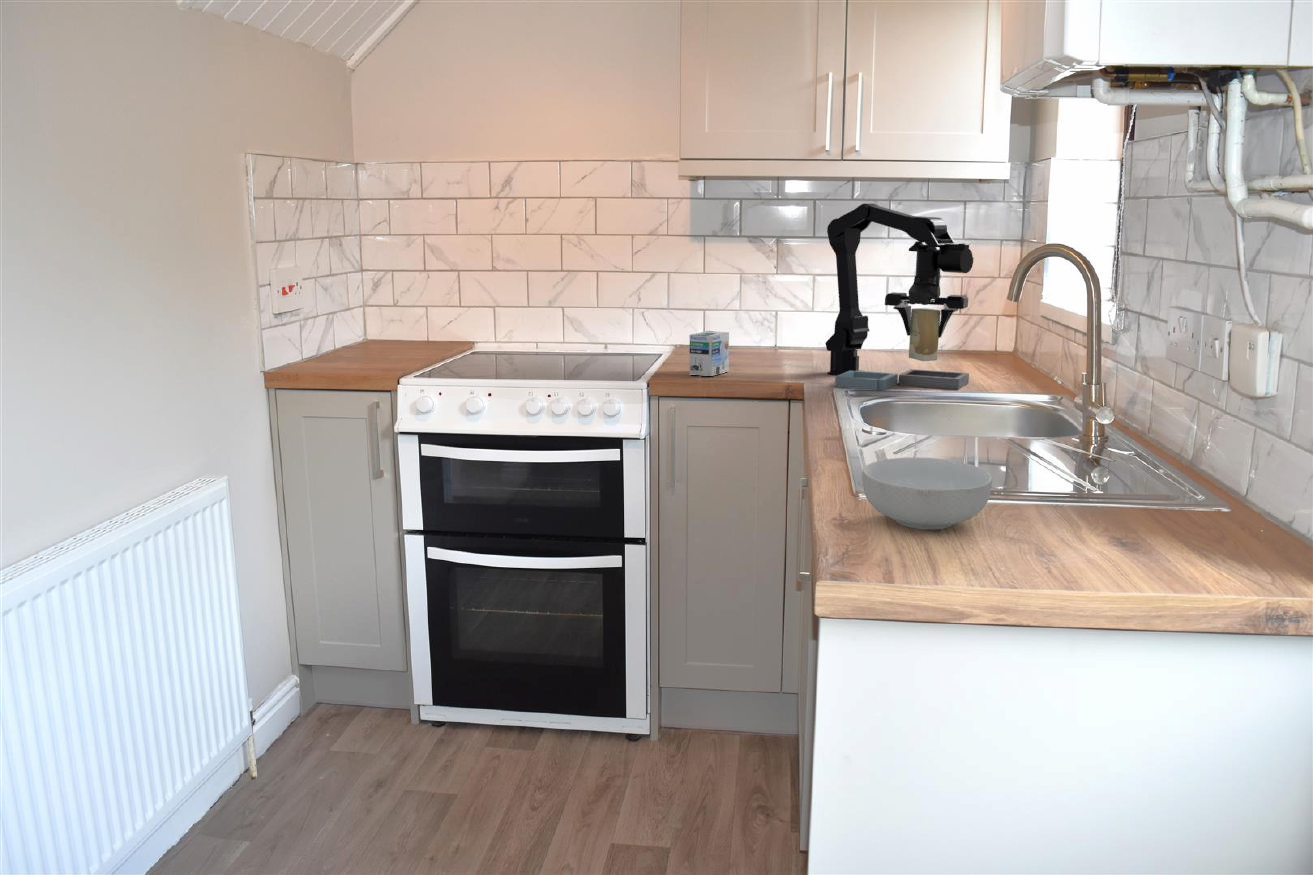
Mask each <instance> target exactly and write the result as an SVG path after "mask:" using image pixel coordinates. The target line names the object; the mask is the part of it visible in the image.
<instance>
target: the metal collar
mask: <svg viewBox="0 0 1313 875" xmlns="http://www.w3.org/2000/svg"><path fill="white" fill-rule="evenodd" d="M969 381H970V373H969V372H956V371H944V370H943V371H941V370H929V369H916V368H915V369H912V368H910V369H909V370H906V371H904V372H901V373H900V374H898V383H897V385H898V386H904V385H905V386H907V387H918V388H919V387H920V388H921V387H922V388H932V389H934V388H935V389H943V390H944V389H947V390H958V391H959V390H960V389H962V388H963V387H965V386H966V385H968V384H969Z"/></svg>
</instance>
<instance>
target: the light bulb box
mask: <svg viewBox="0 0 1313 875" xmlns="http://www.w3.org/2000/svg"><path fill="white" fill-rule="evenodd" d="M729 352H730V333H729V332H727V331H715V330H714V331H713V330H704V331H701V332H698V333H692V334H689V375H690V374H696V375H704V376H713V375H716V374H719V373H725V372H727V371H730V370H729V367H730V366H729V364H730V363H729V360H730V356H729V355H730V354H729ZM725 374H726V373H725Z"/></svg>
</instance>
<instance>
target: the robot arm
mask: <svg viewBox="0 0 1313 875" xmlns="http://www.w3.org/2000/svg"><path fill="white" fill-rule="evenodd" d="M871 223H875V224H879V225H882V226H885V227H889V228H892V229H896V230H899V231H902V232H904V233H905V234H907V235H908V236H909V237H910V238H912V239H914V240H916V241H915V242H914V244H913V245H912V246H910V247H909V248H908V251H909V252H916V261H915V275H914V279H913V282H912V285H911V287H910V288H909V290H908V294H907V292H894V291H893V292H889V293H887V294H886V295H885V298H884V306H890V307H891V306H893V307H892V308H893V310H897V311H898V313H899V314H900V317H901V319H902V321H903V325H904V329H905V333H906V336H909V337H910V327H911V311H912V305H913V306H914V305H921V306H928V305H933V306H943V308H941V310H940V326H939V339H940V338H942V335H943V333H944V331H945V329H946V327H947V324H948V322H949V320H950V319H951V317H952V315H953V313H956V312H957V311H959V310H964V309H966V308H969V297H967V295H965V294H964V295H962V294H961V295H960V294H951V295H948V296H946V297H941V285H940V284H941V283H940V281H941V271H942V272H943V273H953V274H969V272H970V271H971V270H972V267H973V264H974V257H973V253H972V250H971V249H970V243H956V242H955V240H954V239H953V237H952V236H951V234H950V232H949V230H948V227H947V226H948V225H947V223H946V221H945V219H943V218H942V217H936V216H919V215H918V216H917V215H911V214H909V213H905V212H901V211H898V210H894V209H891V208H887V207H884V206H880V205H878V204H876V203H862V204H859V206H857V207H855V209H853V210H850V211H849V212H847V213H845V214H842V215H841V216H840V217H838V218H834V219H832V220H831V221H830V222H829V224H828V225H827V228H826V230H827V231H826V233H827V237H828V242H829V245H830V247H831V249H832V250H833V252H834V255H835V259H836V276H837V290H838V291H837V292H838V293H837V294H838V307H839V312H838V314H837V317H836V319H835V320H834V321H835V322H834V331H833V332H834V333H833V334H832V335H831V336H830V337H829V338H828V339H827V340H826V341H825V347H826V348H825V349H826V351H828V352H830V358H829V359H830V362H829V366H830V367H829V371H828V372H827V374H828V375H835V376H837V375H840V374H842V373H845V372H847V371H860V356H859V355H858V350H861V349H862V348H863V344H864V342H865V341H866V340H867V338H868V332H870V329H869V316H868V315H863V314H862V312H861V311H860V302H859V301H860V300H859V289H858V274H857V273H858V272H857V270H858V269H857V258H856V253H857V250H858V248H859V245H860V243H861V234H862V232H864V231H865V230H866V229H868V228H869V226H870V225H871ZM924 243H925V244H924ZM938 248H939V249H938Z"/></svg>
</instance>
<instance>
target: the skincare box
mask: <svg viewBox="0 0 1313 875" xmlns="http://www.w3.org/2000/svg"><path fill="white" fill-rule="evenodd" d="M940 320H941V310H939V309H935V308H929V307H917V308H916V307H914V308H911V327H910V335H909V343H908V344H909V345H908V358H909V359H913V360H916V361H921V362H932V361H938V356H939V355H938V352H939V351H938V350H939V339H940V338H939V326H940Z"/></svg>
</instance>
